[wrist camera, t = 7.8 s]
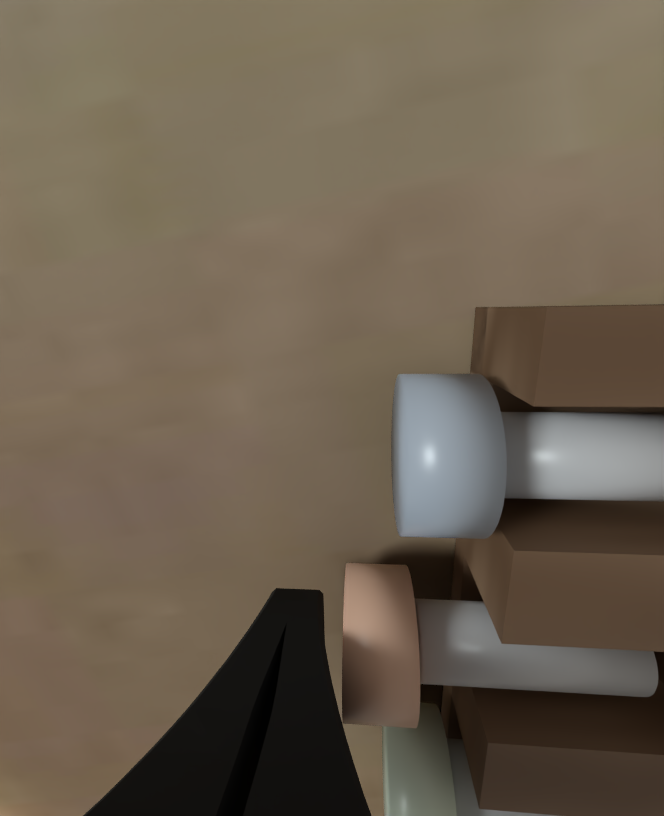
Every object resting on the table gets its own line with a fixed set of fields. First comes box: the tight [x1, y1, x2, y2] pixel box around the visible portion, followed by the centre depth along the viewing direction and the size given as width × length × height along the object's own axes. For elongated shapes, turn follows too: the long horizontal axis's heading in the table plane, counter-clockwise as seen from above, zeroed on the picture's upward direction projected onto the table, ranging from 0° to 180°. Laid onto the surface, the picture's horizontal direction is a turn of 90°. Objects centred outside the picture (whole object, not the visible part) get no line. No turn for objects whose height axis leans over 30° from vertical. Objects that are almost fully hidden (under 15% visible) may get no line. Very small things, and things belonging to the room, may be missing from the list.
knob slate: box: [391, 374, 664, 539], centre depth 8 cm, size 7×3×3 cm, turn 91°
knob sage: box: [382, 703, 557, 816], centre depth 10 cm, size 7×3×3 cm, turn 91°
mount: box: [441, 304, 664, 816], centre depth 9 cm, size 16×6×4 cm, turn 1°
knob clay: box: [342, 563, 658, 728], centre depth 9 cm, size 7×3×3 cm, turn 91°
